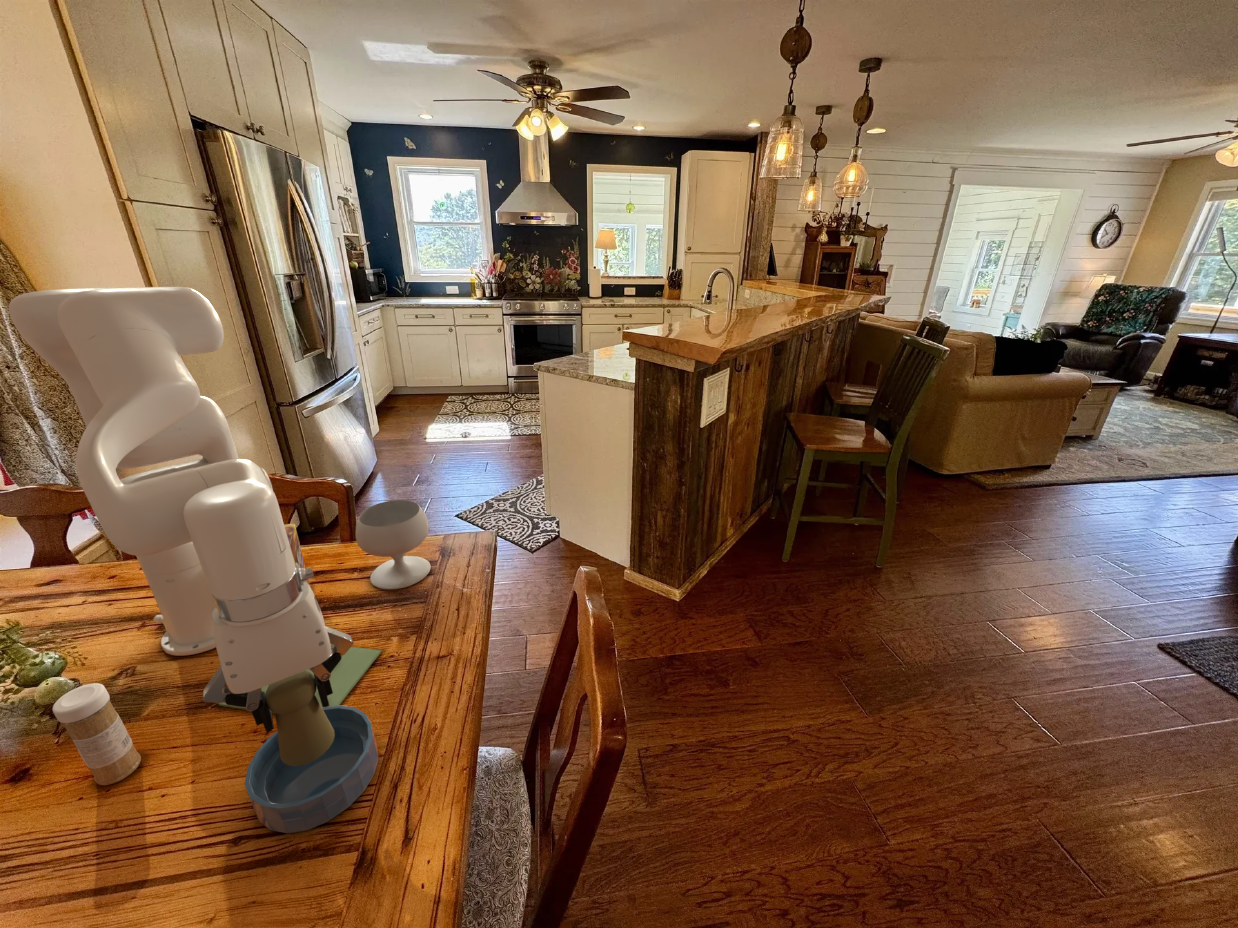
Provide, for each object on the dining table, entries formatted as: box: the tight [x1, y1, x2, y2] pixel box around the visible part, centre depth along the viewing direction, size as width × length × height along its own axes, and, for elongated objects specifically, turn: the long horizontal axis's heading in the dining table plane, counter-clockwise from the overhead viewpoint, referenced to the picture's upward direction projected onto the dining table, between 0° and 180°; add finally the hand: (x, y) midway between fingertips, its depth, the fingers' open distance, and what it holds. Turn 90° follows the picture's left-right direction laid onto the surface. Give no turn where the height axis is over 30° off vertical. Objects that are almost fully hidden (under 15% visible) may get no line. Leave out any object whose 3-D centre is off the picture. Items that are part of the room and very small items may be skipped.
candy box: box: [284, 523, 311, 587], centre depth 95 cm, size 9×4×15 cm, turn 26°
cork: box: [265, 671, 335, 766], centre depth 61 cm, size 6×6×11 cm
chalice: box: [355, 499, 432, 590], centre depth 104 cm, size 14×14×15 cm
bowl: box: [244, 704, 379, 834], centre depth 64 cm, size 14×14×5 cm
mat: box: [218, 643, 382, 714], centre depth 80 cm, size 18×14×1 cm
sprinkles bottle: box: [51, 682, 142, 786], centre depth 63 cm, size 5×5×13 cm
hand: (297, 709), depth 61 cm, fingers closed on cork, 5 cm apart
